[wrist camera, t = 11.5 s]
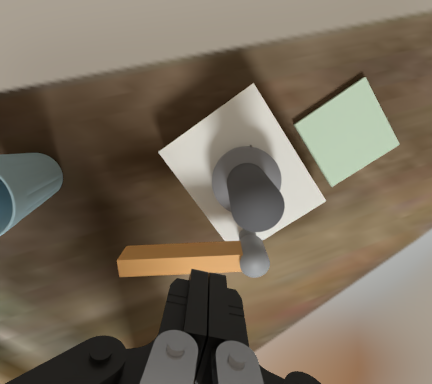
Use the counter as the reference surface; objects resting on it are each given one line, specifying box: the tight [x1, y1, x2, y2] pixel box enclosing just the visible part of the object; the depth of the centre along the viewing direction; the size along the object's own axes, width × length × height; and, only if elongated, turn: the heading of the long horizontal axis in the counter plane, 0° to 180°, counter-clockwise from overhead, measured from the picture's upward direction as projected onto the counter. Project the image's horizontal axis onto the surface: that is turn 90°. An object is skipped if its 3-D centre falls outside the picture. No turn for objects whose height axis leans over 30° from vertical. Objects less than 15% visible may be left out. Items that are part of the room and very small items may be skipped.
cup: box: [0, 153, 63, 236], centre depth 29 cm, size 8×8×10 cm
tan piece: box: [117, 235, 270, 277], centre depth 28 cm, size 14×3×4 cm, turn 93°
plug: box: [212, 146, 285, 232], centre depth 28 cm, size 7×7×14 cm
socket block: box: [158, 83, 326, 241], centre depth 31 cm, size 15×12×6 cm
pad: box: [294, 77, 400, 187], centre depth 33 cm, size 9×9×1 cm
